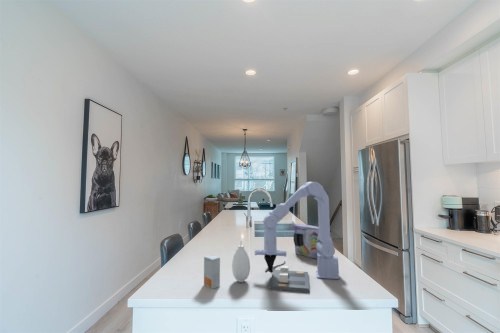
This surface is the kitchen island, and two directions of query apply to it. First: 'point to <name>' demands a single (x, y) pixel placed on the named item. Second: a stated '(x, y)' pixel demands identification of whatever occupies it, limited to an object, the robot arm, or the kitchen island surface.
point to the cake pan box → (306, 240)
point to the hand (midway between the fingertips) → (270, 271)
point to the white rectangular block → (283, 277)
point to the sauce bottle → (241, 264)
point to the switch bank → (290, 281)
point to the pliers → (274, 267)
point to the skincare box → (212, 271)
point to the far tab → (284, 269)
